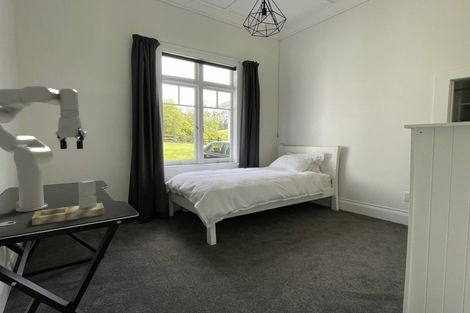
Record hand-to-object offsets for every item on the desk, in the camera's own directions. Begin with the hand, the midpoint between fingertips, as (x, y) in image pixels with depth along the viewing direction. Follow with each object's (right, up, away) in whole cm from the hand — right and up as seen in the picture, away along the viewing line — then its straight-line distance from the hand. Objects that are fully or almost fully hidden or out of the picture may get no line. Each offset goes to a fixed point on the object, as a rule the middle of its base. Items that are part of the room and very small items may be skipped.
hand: (71, 149), depth 121 cm
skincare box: (+12, -28, -7) cm, 31 cm away
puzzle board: (+7, -31, -11) cm, 33 cm away
